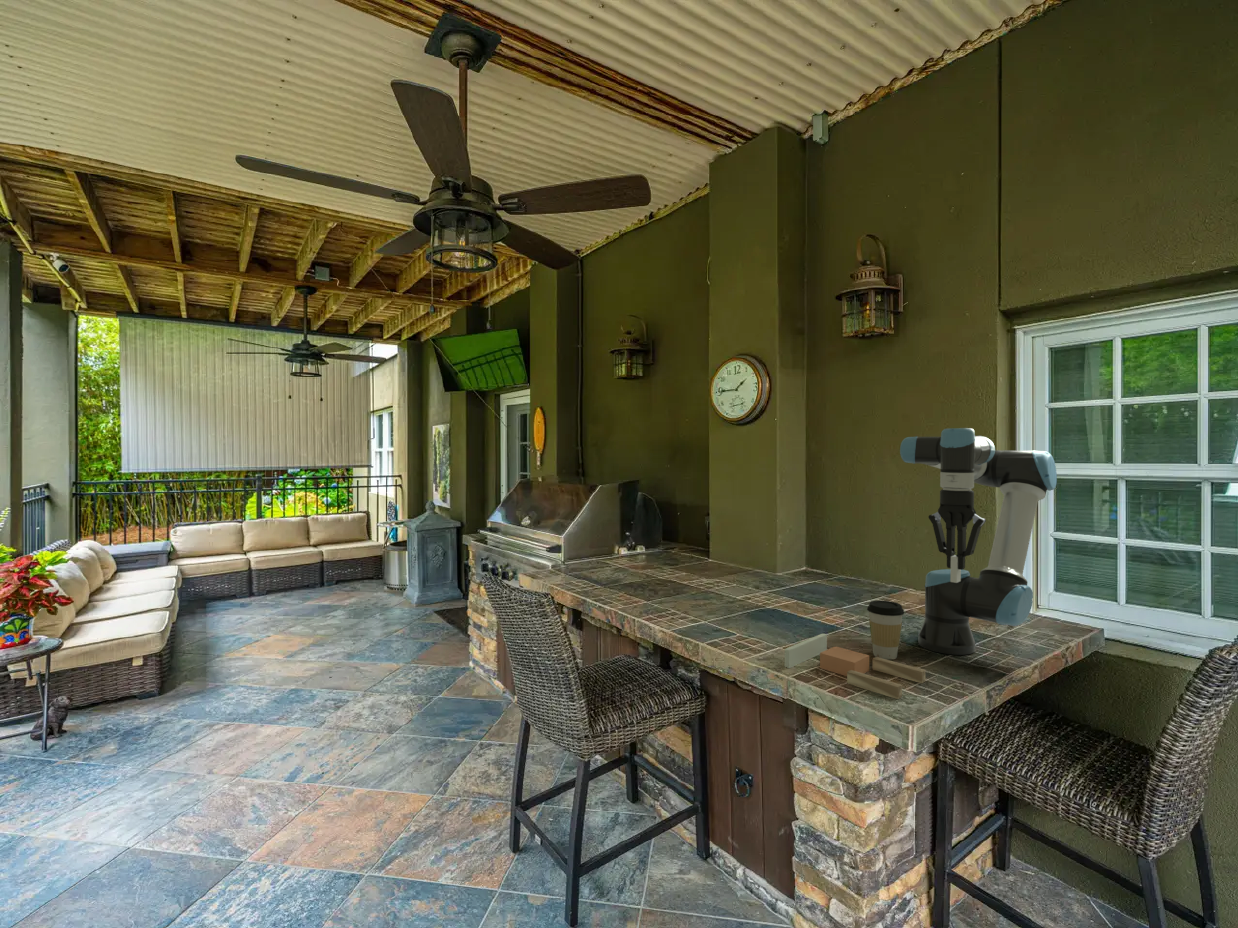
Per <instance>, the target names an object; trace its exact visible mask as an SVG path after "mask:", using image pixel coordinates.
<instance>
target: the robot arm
mask: <svg viewBox="0 0 1238 928" xmlns="http://www.w3.org/2000/svg"><path fill="white" fill-rule="evenodd" d="M975 433H976V432H975V430H974V428H971V427H969V428H968V427H960V428H959V427H958V428H954V427H953V428H944V429H943V430H942V431H941V433H940V436H908V437H905V438H903V440H902V441H901V443H900V447H899V453H900V457H901V460H902V462H904V463H907V464H908V463H909V464H914V465H915V464H923V465H926V466H930V467H933V468H936V469H939V471H940V472H939V473H940V478H939V479H940V481H939V482H940V483H939V487H940V488H942V489H941V490H940V491H939V507H938V508H937V509H938V510H937V511H936V512H934V513H933V514H929V515H928V519H929V520H930V522H931V524H932V527H933V532H934V535H935V539H936V540H935V541H936V544H937V549H938V551H939V552H940V553H943V554H945V555H946V568H945V569H936V570H931V571H929V572H928V573H926V575H925V585H924V594H925V595H924V605H925V606H924V621H923V622H922V625H921V628H920V631H919V633H918V639H917V641H918V645H919V646H920V647H922V648H924V649H926V650H929V651H932V652H935V653H939V654H947V655H956V656H957V655H958V656H959V655H960V656H963V655H970V654H973V653H975V652H976V641H975V638H974V635H973V632H972V629H971V625H970V618H973V619H977V620H980V621H981V620H982V621H986V622H991V623H995V624H998V625H1003V626H1004V625H1006V626H1012V627H1017V626H1020V625H1022V624H1023V623H1024V622H1025V621H1026V620H1027V618H1028V617H1029V615H1030V612H1031V611H1032V610H1031V609H1032V607H1033V598H1034V591H1033V589H1032V588H1031V587H1030V586H1029V585H1028V580H1027V579H1026V577H1025V576H1024V569H1025V564H1026V560H1027V556H1028V551H1029V547H1030V546H1029V545H1030V540H1031V535H1032V532H1033V526H1034V522H1035V517H1036V512H1037V507H1038V504H1039V502H1040V501H1041V500H1043V499H1045V498H1046V496H1047V495H1046V494H1047V491H1049V492H1050V491H1054V490H1055V489H1056V487H1057V481H1058V478H1057V467H1056V466H1057V465H1056V462H1055V460H1054V457H1053V455H1052V454H1051V453H1050V452H1048V451H1046V450H1034V449H1032V450H999V449H998V450H996V447H995V445H994V442H993V441H992V440H991V439H989V438H988V437H987V436H982V435H975ZM975 484H977V485H981V486H985V487H991V488H999V491H1000V493H1001V494H1002V495H1003V498H1002V501H1001V502H1002V503H1001V507H1000V513H999V517H998V520H997V525H996V529H995V534H994V537H993V543H992V546H991V551H990V555H989V559H988V564H987V565H988V566H986V567H985V568H983V569H981V570H980V573H979V576H978V577H974V576H973V577H972V576H971V574H970V571H969V570H966V569H965V568H966V557H967V556H968V557H969V556H971V555H973V554H974V553H975V550H976V546H977V542H978V539H979V537H980V536H979V535H980V532H981V529H982V527H983V526H984V524H985V523H986V518H984V517H981V516H979V515H978V514H977V513H976V509H975V508H974V507H975V505H974V504H975V491H974V490H972V489H974V488H975ZM941 520H943V522H944V523H945V529H946V533H944V529H943V525H942V522H941ZM971 521H972V524H973V526H972V527H971V531H970V535H969V538H968V542H967V530H968V524H969V523H971ZM956 530H957V531H956ZM956 532H957V533H956ZM945 534H946V538H945ZM956 534H957V536H956ZM956 537H957V539H956ZM956 540H957V546H956ZM956 547H957V549H956ZM955 551H957V552H955Z"/></svg>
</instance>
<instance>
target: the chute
mask: <svg viewBox="0 0 1238 928" xmlns="http://www.w3.org/2000/svg"><path fill="white" fill-rule="evenodd" d="M872 670H873V671H876V672H880V673H884V674H887V675H891V676H893V677H898V678H902V679H905V680H909V681H913V682H916V683H918V684H924V683H925V682H926V669H923V668H920V667H915V666H913V665H909V664H908V665H907V664H905V663H901V662H897V661H892V660H891V659H882V658H879V657H876V656H874V657H873V658H872ZM846 683H847V685H851V686H855V687H858V688H860V689H864V690H867V691H870V692H873V693H877V694H880V695H883V696H886V697H889V698H892V699H896V700H900V699H901V698H902V697H903V684H900V683H896V682H893V681H890V680H887V679H884V678H880V677H876V676H873V675H870V674H866V673H864V674H863V673H860V672H856V671H853V670H850V671H848V672H847V676H846Z"/></svg>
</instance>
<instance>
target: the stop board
mask: <svg viewBox="0 0 1238 928" xmlns="http://www.w3.org/2000/svg"><path fill="white" fill-rule="evenodd" d="M827 644H828V634H826V633H823V632H822V633H820V634H818V635H815V636H813V637H810V638H808V639H805V640H804V641H801V642H799V643H795V644H793V645H791V646H788V647H787V648H784V667H785V668H786V667H787V669H790V668H793V667H795V666H797V664H798V665H799V664H803V663H804V662H806V661H808V660H810V659H812V658H816V657H817V656H820V653H821V652H823V651H825V650H828V648H827V647H828V645H827Z"/></svg>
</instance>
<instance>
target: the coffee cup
mask: <svg viewBox="0 0 1238 928" xmlns="http://www.w3.org/2000/svg"><path fill="white" fill-rule="evenodd" d="M866 611H868V615H869V619H868V620H869V621H868V622H869V630H870V637H871V638H870V639H871V645H872V652H873V656H874V657H879V658H882V659H886V660H895V659H897V657H898V651H899V646H900V639H901V632H902V627H903V625H902V624H903V622H902V621H903V615H904V614H905V610H904V609H903V605H902V604H901V603H898V602H895V601H889V600H873V601H870V602H869V605H868V606H867V609H866Z"/></svg>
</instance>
